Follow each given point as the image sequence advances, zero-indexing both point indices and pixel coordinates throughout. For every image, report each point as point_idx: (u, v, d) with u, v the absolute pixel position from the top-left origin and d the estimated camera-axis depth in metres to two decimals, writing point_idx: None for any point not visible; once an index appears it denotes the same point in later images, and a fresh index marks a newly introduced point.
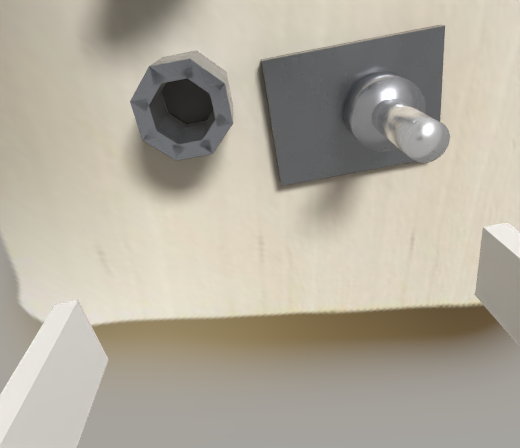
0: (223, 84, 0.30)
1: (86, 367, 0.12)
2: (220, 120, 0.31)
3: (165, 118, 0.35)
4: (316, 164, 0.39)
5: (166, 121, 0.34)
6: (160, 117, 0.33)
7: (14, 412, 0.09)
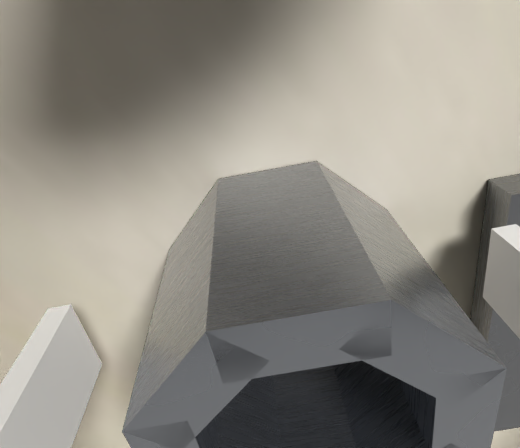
0: (500, 371, 0.07)
1: (79, 372, 0.12)
2: None
3: None
4: None
5: None
6: None
7: (3, 419, 0.09)
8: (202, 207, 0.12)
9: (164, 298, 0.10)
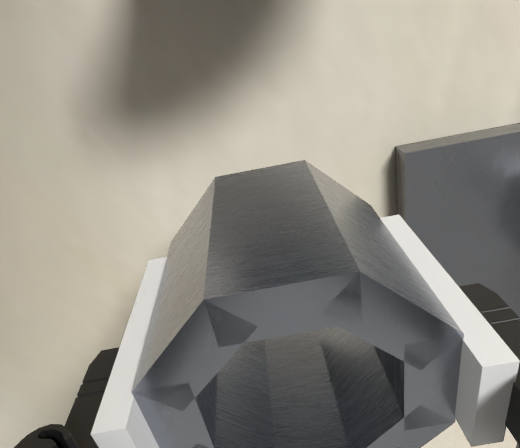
0: (458, 337, 0.09)
1: None
2: (418, 418, 0.10)
3: None
4: None
5: None
6: None
7: (145, 338, 0.10)
8: (201, 202, 0.13)
9: (167, 282, 0.11)
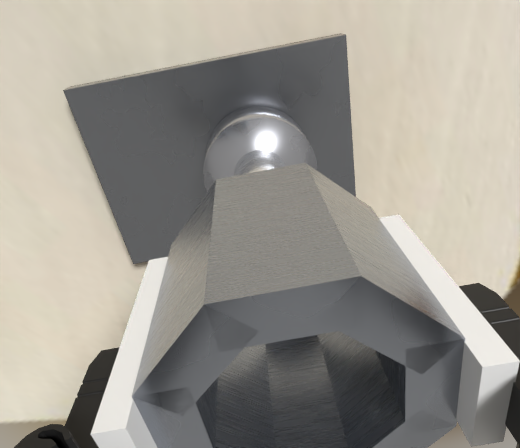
0: (459, 341, 0.08)
1: None
2: (419, 422, 0.10)
3: None
4: None
5: None
6: None
7: (145, 338, 0.10)
8: (201, 205, 0.13)
9: (167, 286, 0.11)
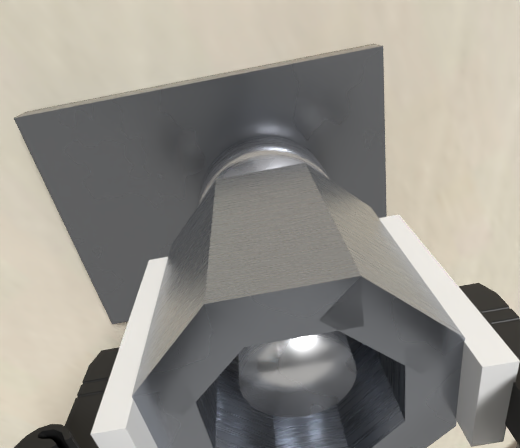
0: (459, 341, 0.08)
1: None
2: (419, 422, 0.10)
3: None
4: None
5: None
6: None
7: (145, 338, 0.10)
8: (201, 205, 0.13)
9: (167, 285, 0.11)
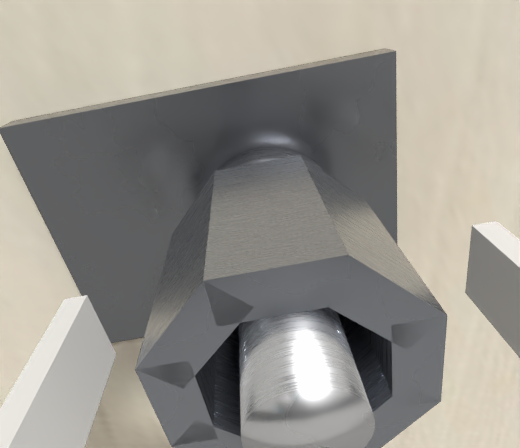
0: (441, 318, 0.09)
1: (95, 361, 0.12)
2: (406, 397, 0.10)
3: None
4: None
5: None
6: None
7: (28, 403, 0.09)
8: (201, 195, 0.14)
9: (168, 270, 0.12)
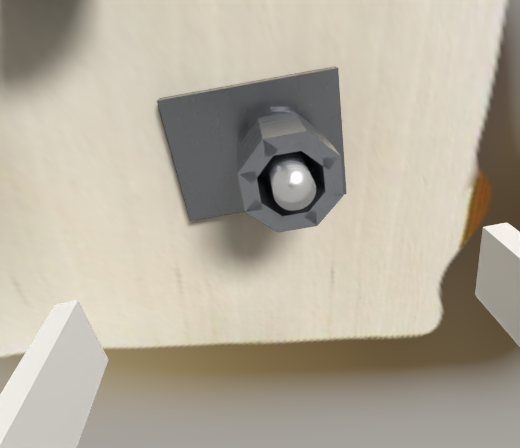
0: (339, 156, 0.28)
1: (86, 367, 0.12)
2: (330, 192, 0.29)
3: (259, 182, 0.33)
4: (223, 200, 0.39)
5: (261, 186, 0.32)
6: (258, 184, 0.31)
7: (14, 412, 0.09)
8: (252, 128, 0.32)
9: (241, 153, 0.30)
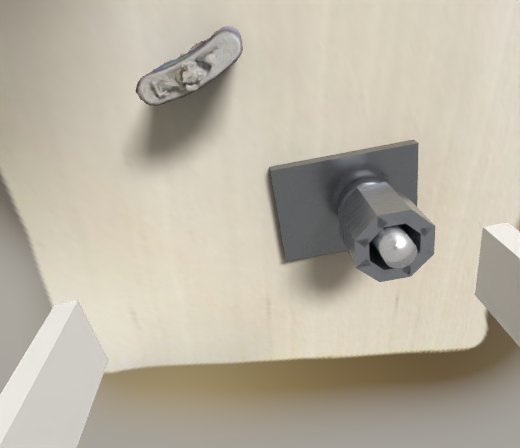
0: (433, 227, 0.36)
1: (86, 367, 0.12)
2: (424, 252, 0.37)
3: None
4: (315, 245, 0.47)
5: None
6: None
7: (14, 412, 0.09)
8: (352, 195, 0.40)
9: (349, 219, 0.38)
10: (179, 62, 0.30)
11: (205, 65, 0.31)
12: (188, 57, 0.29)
